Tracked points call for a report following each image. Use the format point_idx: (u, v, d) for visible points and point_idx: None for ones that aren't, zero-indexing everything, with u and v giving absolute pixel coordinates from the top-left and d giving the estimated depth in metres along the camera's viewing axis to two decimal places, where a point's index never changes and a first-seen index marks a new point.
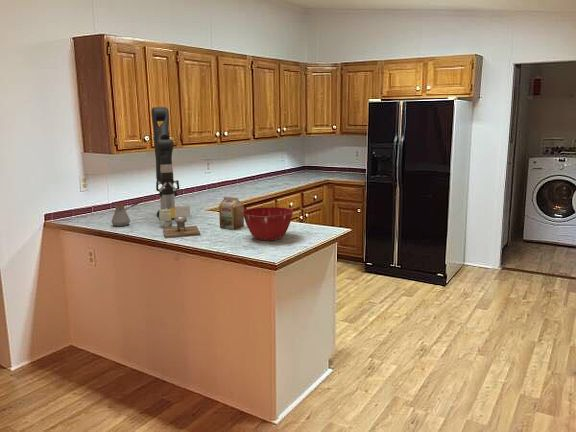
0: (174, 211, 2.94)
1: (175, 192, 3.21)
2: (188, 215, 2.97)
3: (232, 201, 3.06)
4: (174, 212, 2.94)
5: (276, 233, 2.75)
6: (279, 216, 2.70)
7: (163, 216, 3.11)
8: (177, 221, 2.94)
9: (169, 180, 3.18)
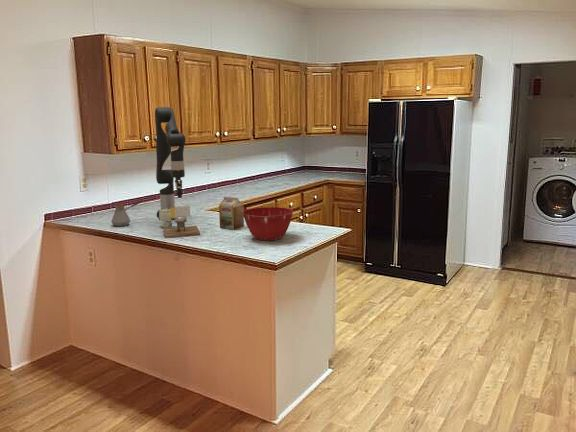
0: (174, 211, 2.94)
1: None
2: (188, 215, 2.97)
3: (232, 201, 3.06)
4: (174, 212, 2.94)
5: (276, 233, 2.75)
6: (279, 216, 2.70)
7: (163, 216, 3.11)
8: (177, 221, 2.94)
9: None
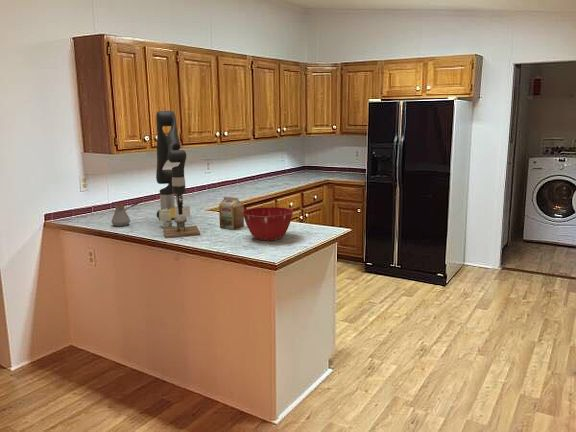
0: (174, 211, 2.94)
1: None
2: (188, 215, 2.97)
3: (232, 201, 3.06)
4: (174, 212, 2.94)
5: (276, 233, 2.75)
6: (279, 216, 2.70)
7: (163, 216, 3.11)
8: (177, 221, 2.94)
9: None
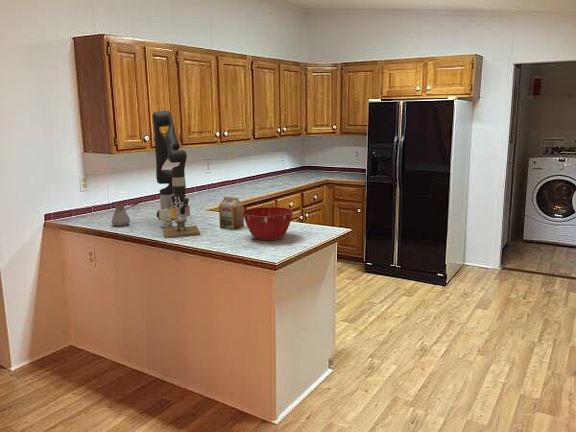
0: (176, 211, 2.93)
1: None
2: (188, 214, 2.99)
3: (232, 201, 3.06)
4: (176, 212, 2.93)
5: (276, 233, 2.75)
6: (279, 216, 2.70)
7: (163, 216, 3.11)
8: (179, 221, 2.94)
9: None
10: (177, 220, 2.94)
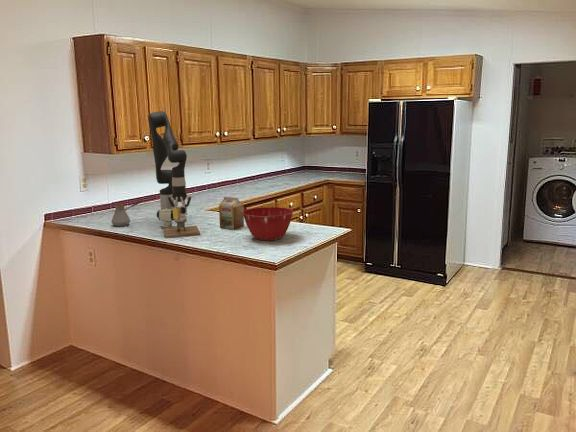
0: (179, 211, 2.93)
1: None
2: (186, 214, 3.01)
3: (232, 201, 3.06)
4: (179, 212, 2.93)
5: (276, 233, 2.75)
6: (279, 216, 2.70)
7: (163, 216, 3.11)
8: (183, 221, 2.95)
9: None
10: (180, 220, 2.94)
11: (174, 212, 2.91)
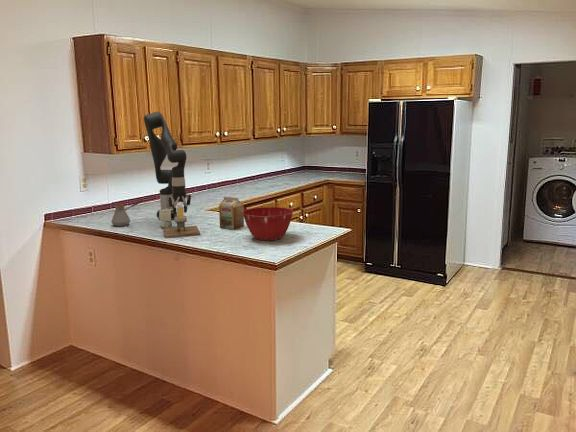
0: None
1: None
2: None
3: (232, 201, 3.06)
4: None
5: (276, 233, 2.75)
6: (279, 216, 2.70)
7: (163, 216, 3.11)
8: (185, 220, 2.96)
9: None
10: (184, 220, 2.95)
11: (179, 212, 2.91)
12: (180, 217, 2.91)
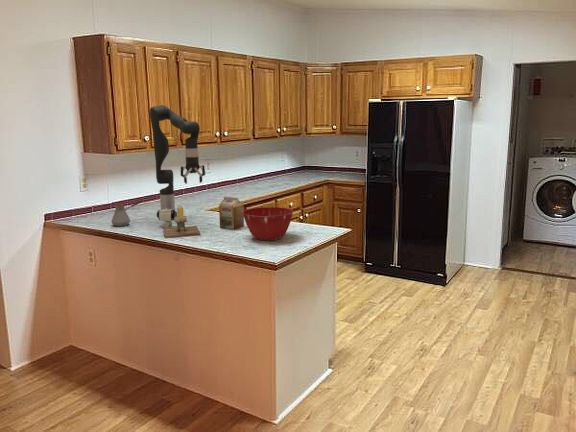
0: None
1: None
2: None
3: (232, 201, 3.06)
4: None
5: (276, 233, 2.75)
6: (279, 216, 2.70)
7: (163, 216, 3.11)
8: (185, 220, 2.96)
9: None
10: (184, 220, 2.95)
11: (179, 212, 2.91)
12: (180, 217, 2.91)
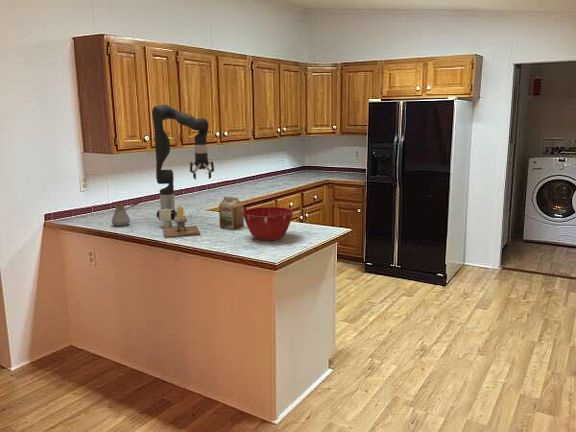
0: None
1: None
2: None
3: (232, 201, 3.06)
4: None
5: (276, 233, 2.75)
6: (279, 216, 2.70)
7: (163, 216, 3.11)
8: (185, 220, 2.96)
9: None
10: (184, 220, 2.95)
11: (179, 212, 2.91)
12: (180, 217, 2.91)
